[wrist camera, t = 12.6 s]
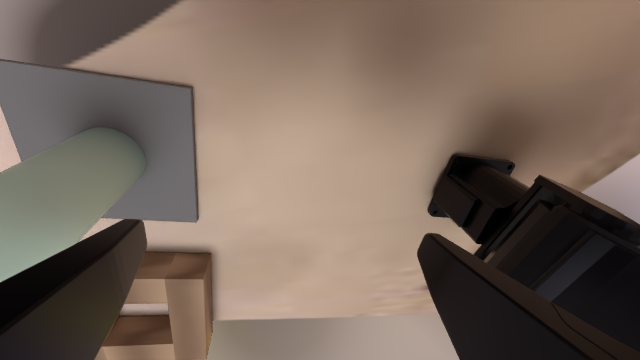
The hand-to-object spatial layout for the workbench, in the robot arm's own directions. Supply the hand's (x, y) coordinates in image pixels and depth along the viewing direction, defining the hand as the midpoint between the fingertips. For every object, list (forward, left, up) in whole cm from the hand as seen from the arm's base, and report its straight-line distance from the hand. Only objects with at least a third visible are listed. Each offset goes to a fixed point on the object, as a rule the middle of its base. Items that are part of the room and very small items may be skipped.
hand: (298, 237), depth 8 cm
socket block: (+11, +19, -13) cm, 26 cm away
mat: (+12, +4, -13) cm, 18 cm away
